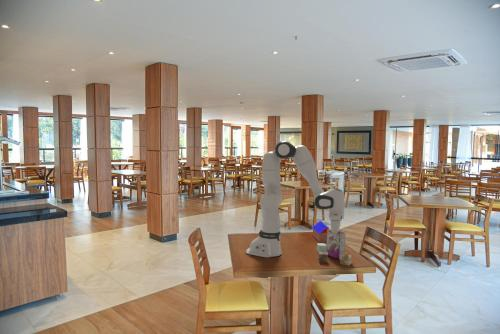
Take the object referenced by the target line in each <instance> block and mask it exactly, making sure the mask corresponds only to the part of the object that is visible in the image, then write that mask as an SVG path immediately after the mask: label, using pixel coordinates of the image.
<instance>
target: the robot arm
mask: <svg viewBox="0 0 500 334" xmlns="http://www.w3.org/2000/svg"><path fill="white" fill-rule="evenodd" d="M283 159H285V160H286V159H292V160H293V162H294V164H295V167H296V168H297V170H298V172H299V173H300V175H301V176H302V177H303V178H304V179H306V181H307V183H308V185H309V188H310V189H311V191H312V199H313V200H312V201H313V204H314V205H315V207H316V208H317V209H319V210H328V218H329V221H330V229H331V232H332V233H333V236H334V239H337V233H338V231H340V228H341V222H342V221H343V219H344V218H345V208H344V206H345V193H344V191H343V190H342V189H340V188H335V187H334V188H333V187H331V188H330V189H329V190H326V191H325V190H323V187H322V186H321V184H320V181H319V179H318V176H317V167H316V163H315V160H314V158H313V155H312V153H311V152H310V151H309V149H308V147H307V146H305V145H303V144H302V145H301V144H299V145H297V146H295V145H293V144H292V143H291V142H290V141H288V140H280V141H279V142H277V143H276V145H275V148H274V150H273V151H267V152H266V153H264V155H263V157H262V163H261V164H262V165H261V166H262V167H261V169H262V171H261V173H262V175H261V177H262V185H263V190H264V194H263V195H262V196H261V198H260V200H259V205H260V212H261V220H262V225H261V226H262V227H261V229H260V230H259V232H258V236H257V237H256V238H254V239H253V240H252V241H251V242H250V245H249V247H248V248H247V249H246V250H245V251H246V252H245V253H246V254H247V255H252V256H257V257H262V258H267V259H268V258H272V257H279V256H280V255H281V256H282V255H283V252H282V248H281V236H282V235H281V218H280V213H279V207H280V206H281V205H282V202H283V194H282V193H283V191H282V185H281V161H282V160H283Z"/></svg>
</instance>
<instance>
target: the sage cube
mask: <svg viewBox="0 0 500 334" xmlns="http://www.w3.org/2000/svg"><path fill="white" fill-rule="evenodd" d="M326 247H327V243H326V242H325V243H319V242H318V243H316V251H317V253H318V254H319V252H326Z"/></svg>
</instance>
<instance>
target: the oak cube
mask: <svg viewBox="0 0 500 334" xmlns="http://www.w3.org/2000/svg"><path fill="white" fill-rule="evenodd" d="M352 257H353V255H352V254H348V253H347V254H346V253H345V254H342V255H341V256H340V260H339V264H340V265H341V264H342V265H341V266H346V265H348V266H347V267H350V265H352V260H353V259H352Z"/></svg>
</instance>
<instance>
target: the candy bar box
mask: <svg viewBox="0 0 500 334" xmlns="http://www.w3.org/2000/svg"><path fill="white" fill-rule="evenodd" d="M326 245H327V247H326V252H327V253H328V257H331V258H334V259H337V260H339V261H340V256H341V255H342V254H346V253H345V252H346V249H345V248H346V232H345V231H342V230H339V231H338V233H337V239H334V236H333V233H332V232H331V228H330V229H327V242H326Z"/></svg>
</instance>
